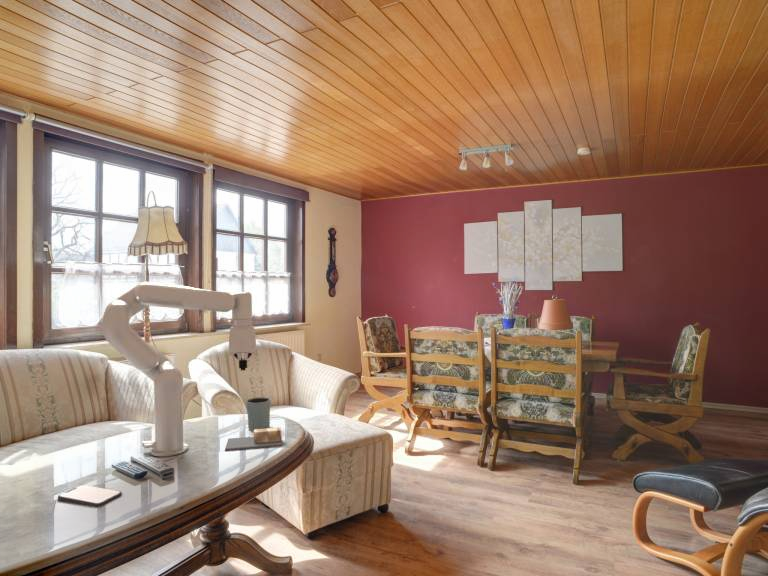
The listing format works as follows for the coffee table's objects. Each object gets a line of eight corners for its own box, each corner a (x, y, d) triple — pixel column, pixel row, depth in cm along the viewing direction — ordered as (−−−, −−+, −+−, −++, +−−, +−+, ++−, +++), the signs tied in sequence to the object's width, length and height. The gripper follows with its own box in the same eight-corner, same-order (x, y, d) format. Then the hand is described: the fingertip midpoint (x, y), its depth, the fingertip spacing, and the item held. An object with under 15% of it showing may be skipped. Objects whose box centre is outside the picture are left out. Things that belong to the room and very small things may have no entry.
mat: (225, 450, 182) (225, 448, 182) (228, 440, 194) (228, 438, 193) (281, 446, 186) (281, 444, 186) (280, 436, 198) (280, 434, 198)
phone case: (124, 496, 146) (82, 489, 151) (124, 491, 146) (82, 483, 151) (98, 510, 137) (55, 501, 142) (98, 504, 137) (55, 496, 142)
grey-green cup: (253, 433, 202) (253, 404, 202) (242, 428, 210) (241, 399, 210) (275, 428, 209) (275, 399, 209) (263, 423, 217) (263, 395, 216)
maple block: (253, 432, 188) (280, 430, 190) (254, 429, 192) (280, 427, 194) (253, 443, 188) (280, 440, 190) (254, 439, 192) (280, 437, 194)
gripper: (221, 324, 190) (222, 372, 190) (261, 323, 193) (262, 370, 193) (223, 323, 197) (224, 369, 197) (262, 321, 200) (263, 367, 200)
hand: (243, 369), depth 195 cm, fingers closed
